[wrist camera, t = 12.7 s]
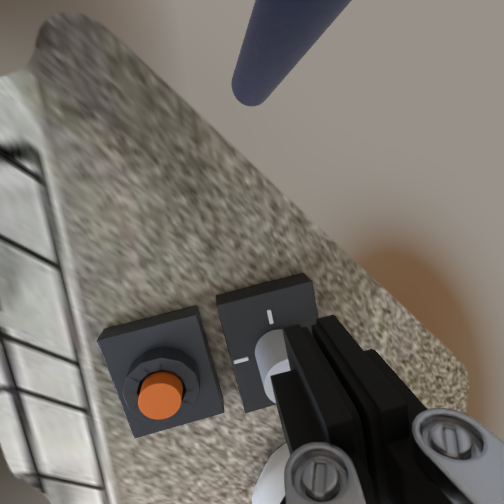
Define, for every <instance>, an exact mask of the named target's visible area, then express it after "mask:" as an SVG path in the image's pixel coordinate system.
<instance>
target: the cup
mask: <svg viewBox="0 0 504 504" xmlns="http://www.w3.org/2000/svg"><path fill="white" fill-rule="evenodd" d="M289 457H290V453H289V449H288V446H287V443H285V444H283V445H282V446H281V447H280V448H278V449H277V450H276V451H275V452H273V453H272V454H271V456H270V458H269V459H268V461H267V463H266V465H265V466H264V469H263V471H262V473H261V475H260V477H259V480H258V482H257V484H256V486H255V489H254V491H253V496H252V504H280V503H281V501H282V499H283V498H284V496H285V486H284V469H285V465H286V463H287V460H288V458H289Z"/></svg>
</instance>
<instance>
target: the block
mask: <svg viewBox="0 0 504 504" xmlns="http://www.w3.org/2000/svg"><path fill="white" fill-rule="evenodd" d="M97 343H98V345H99V348H100V350H101V353H102V356H103V358H104V361H105V363H106V366H107V368H108V371H109V374H110V376H111V379H112V381H113V384H114V387H115V389H116V392H117V394H118V397H119V399H120V402H121V405H122V407H123V410H124V412H125V415H126V418H127V420H128V423H129V425H130V428H131V430H132V433H133V436H134V438H138V437H141V436H145V435H148V434H152V433H155V432H159V431H162V430H165V429H169V428H172V427H176V426H179V425H183V424H186V423H190V422H193V421H197V420H200V419H204V418H207V417H211V416H214V415H218V414H221V413H224V403H223V396H222V392H221V389H220V385H219V382H218V378H217V375H216V371H215V368H214V364H213V361H212V357H211V354H210V350H209V347H208V343H207V339H206V336H205V332H204V329H203V325H202V322H201V318H200V315H199V311H198V308H197V306H193V307H189V308H185V309H181V310H177V311H173V312H169V313H165V314H162V315H158V316H154V317H150V318H146V319H142V320H138V321H134V322H130V323H126V324H123V325H119V326H115V327H111V328H107V329H104V330H103V332H102V333H101V335H100V336H99V338H98V340H97ZM160 371H166V372H170V373H173V374H175V375H176V376H177V377H178V378H179V379H180V380H181V382H182V386H183V391H182V402H181V406H180V408H179V410H178V411H177V412H176V413H175V414H174V415H172V416H171V417H169V418H166V419H161V420H157V419H151V418H149V417H147V416H145V415H144V414H143V413H142V412H141V411H140V409H139V406H138V397H139V394H140V391H141V387H142V384H143V382H144V380H145V379H146V378H147V377H148V376H149V375H151V374H153V373H155V372H160Z"/></svg>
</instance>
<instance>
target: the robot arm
mask: <svg viewBox="0 0 504 504" xmlns="http://www.w3.org/2000/svg"><path fill="white" fill-rule="evenodd" d="M311 329H312V334H311V332H310V330H309V329H308V327H307V326H306V327H301V326H300V324H295V325H291V326H287V327H283V328H282V331H283V336H284V341H285V346H286V351H287V356H288V361H289V366H290V371H287V372H283V373H279V374H275V375H271V376H270V378H271V383H272V387H273V392H274V396H275V400H276V405H277V409H278V413H279V417H280V420H281V424H282V428H283V431H284V435H285V439H286V442H287V446H288V449H289V453H290V457H289V458H288V460H287V463H286V465H285V469H284V486H285V496H284V498H283V499H282V501H281V503H280V504H504V442H503V441H502V440H501V439H500V438H498V437H497V436H496V435H495V434H493V433H492V432H491V431H489V430H488V429H486V427H484V426H483V425H482V424H480V423H479V422H478V421H476V420H475V419H473V418H471V417H470V416H468V415H466V414H464V413H461V412H458V411H456V410H451V409H446V408H433V409H429V410H427V408H426V407H425V406H424V405H423V404H422V403H421V402H420V401H419V399H418V398H417V397H416V396H415V395H414V394H413V393H412V391H411V390H410V389H409V388H408V387H407V386H406V385H405V384H404V382H403V381H402V380H401V379H400V378H399V377H398V376H397V374H396V373H395V372H394V371H393V370H392V369H391V368H390V367H389V365H388V364H387V363H386V362H385V361H384V360H383V359H382V357H381V356H380V355H379V354H378V353H377V352H376V351H375V350H373V349H370V350H366V351H363V350H362V348H361V347H360V346H359V345H358V343H357V342H356V341H355V340H354V339H353V337H352V336H351V335H350V334H349V332H348V331H347V330H346V329H345V328H344V326H343V325H342V324H341V323H340V322H339V320H338V319H337V318H336V317H335V316H334V315H330V316H327V317H323V318H319V319H316V324H314V325H311Z"/></svg>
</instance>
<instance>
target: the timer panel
mask: <svg viewBox="0 0 504 504" xmlns="http://www.w3.org/2000/svg"><path fill="white" fill-rule="evenodd" d="M216 302H217V308H218V312H219V316H220V320H221V323H222V327H223V331H224V335H225V339H226V342H227V346H228V350H229V354H230V357H231V361H232V365H233V369H234V372H235V376H236V380H237V384H238V388H239V391H240V395H241V399H242V403H243V406H244V410H245V413H248V412H251V411H255V410H258V409H262V408H265V407H269V406H272V405H275V404H276V403H274V402H273V401H271V400H270V399H269V398H268V396H267V395H266V393H265V390H264V386H263V382H262V379H261V375H260V371H259V368H258V364H257V361H256V357H255V348H256V345H257V342H258V341H259V339H260V338H261V337H262V336H263V335H264V334H266V333H268V332H270V331H272V330H278V329H282V328H283V327H287V326H291V325H295V324H300V326H301V327H306V326H307V327H308V329H309V330H310V332H311V334H312V329H311V325H314V324H316V319H318V313H317V308H316V302H315V296H314V291H313V285H312V281H311V280H310V279H309V278H308V277H307V276H306V275H305V274H304V273H302V274H298V275H295V276H291V277H287V278H283V279H279V280H275V281H271V282H267V283H263V284H259V285H255V286H252V287H248V288H244V289H240V290H236V291H232V292H228V293H224V294H220V295H216Z"/></svg>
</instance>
